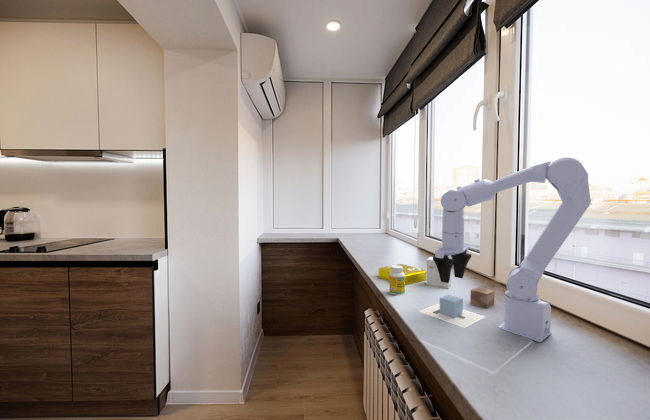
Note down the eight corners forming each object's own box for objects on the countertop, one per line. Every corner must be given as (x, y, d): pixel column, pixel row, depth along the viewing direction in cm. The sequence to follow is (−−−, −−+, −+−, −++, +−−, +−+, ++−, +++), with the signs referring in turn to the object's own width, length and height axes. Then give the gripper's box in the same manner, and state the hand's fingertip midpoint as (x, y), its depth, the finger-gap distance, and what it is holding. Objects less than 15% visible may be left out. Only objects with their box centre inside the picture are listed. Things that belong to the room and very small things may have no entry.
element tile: (400, 272, 134) (400, 262, 134) (428, 280, 122) (428, 269, 122) (376, 278, 126) (376, 266, 126) (403, 286, 114) (403, 274, 113)
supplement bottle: (396, 290, 108) (396, 264, 108) (408, 294, 104) (408, 267, 103) (386, 292, 105) (386, 266, 105) (397, 296, 101) (397, 269, 100)
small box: (451, 285, 114) (451, 258, 113) (448, 289, 109) (448, 261, 109) (429, 282, 118) (430, 256, 118) (426, 286, 113) (426, 258, 113)
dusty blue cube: (462, 314, 85) (462, 298, 85) (454, 318, 82) (454, 302, 82) (447, 309, 89) (448, 294, 88) (439, 313, 86) (439, 297, 86)
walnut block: (494, 306, 93) (494, 290, 92) (486, 310, 90) (487, 294, 89) (477, 301, 97) (478, 286, 96) (470, 305, 94) (470, 289, 93)
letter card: (485, 317, 84) (485, 316, 83) (464, 329, 76) (464, 327, 76) (440, 303, 95) (440, 302, 95) (418, 312, 87) (418, 311, 87)
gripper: (453, 229, 92) (452, 272, 93) (425, 233, 83) (425, 280, 84) (475, 232, 86) (474, 277, 87) (449, 236, 77) (448, 287, 78)
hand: (451, 279), depth 85 cm, fingers open, 7 cm apart
